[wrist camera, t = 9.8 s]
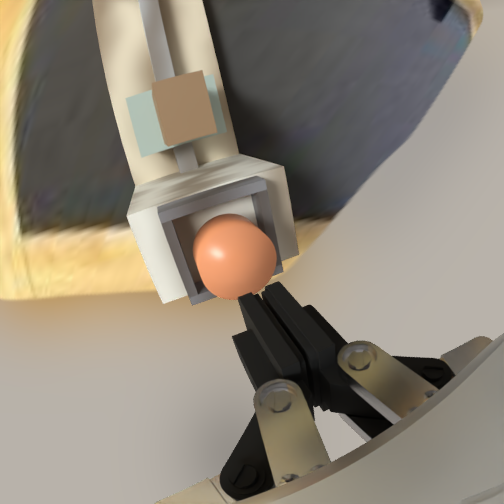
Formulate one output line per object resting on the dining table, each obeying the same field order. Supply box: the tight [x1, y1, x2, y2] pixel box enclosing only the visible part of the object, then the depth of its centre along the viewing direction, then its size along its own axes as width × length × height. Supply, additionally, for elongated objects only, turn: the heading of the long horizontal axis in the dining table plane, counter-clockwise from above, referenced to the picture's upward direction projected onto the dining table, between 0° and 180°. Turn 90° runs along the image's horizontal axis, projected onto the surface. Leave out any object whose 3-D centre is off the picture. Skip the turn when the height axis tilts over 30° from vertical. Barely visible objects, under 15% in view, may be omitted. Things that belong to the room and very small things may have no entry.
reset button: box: [193, 214, 277, 300], centre depth 16 cm, size 4×4×2 cm
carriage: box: [126, 70, 227, 157], centre depth 19 cm, size 7×5×9 cm
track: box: [92, 0, 299, 305], centre depth 18 cm, size 10×28×13 cm, turn 13°
